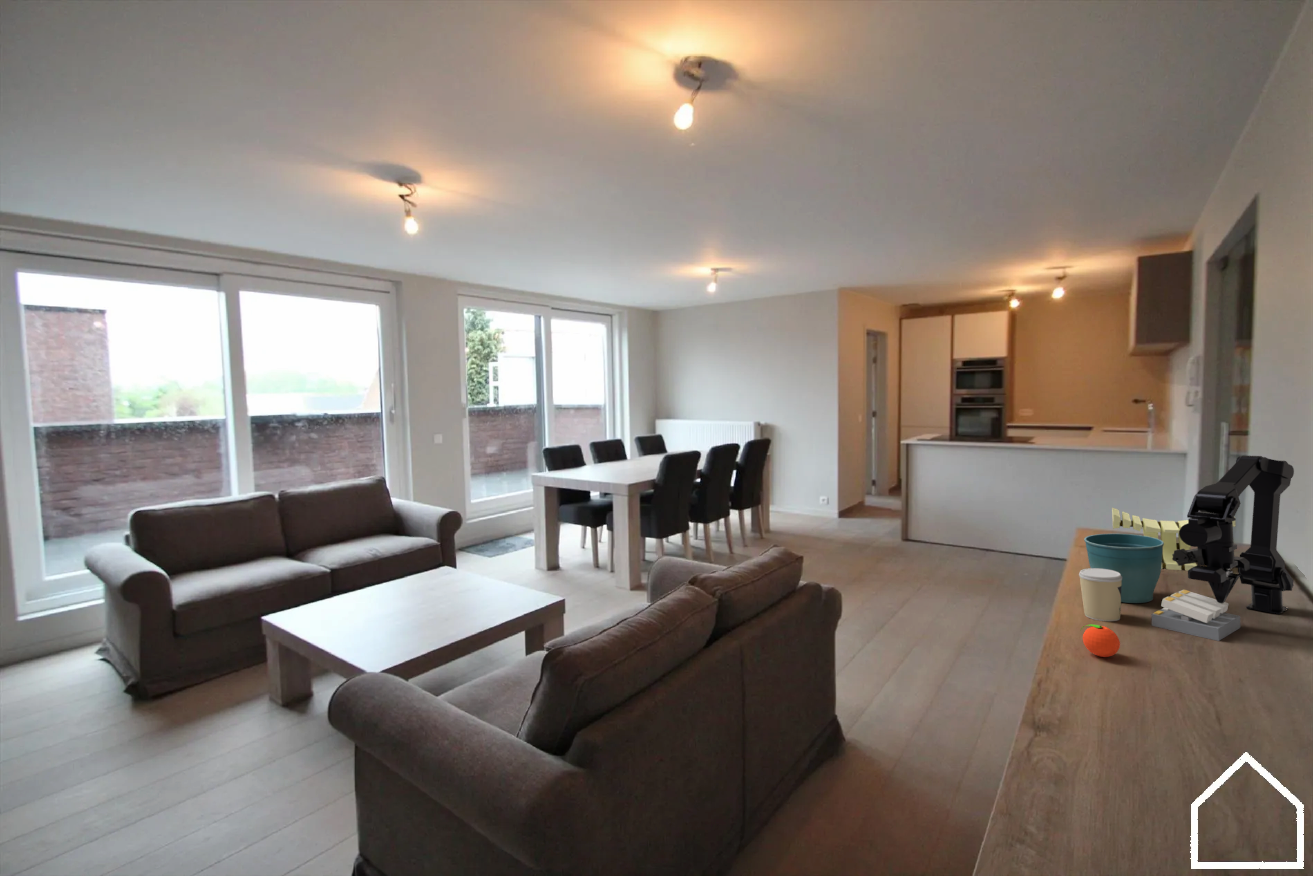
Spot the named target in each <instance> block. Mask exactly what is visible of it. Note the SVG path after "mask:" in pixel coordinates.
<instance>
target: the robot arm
mask: <svg viewBox="0 0 1313 876" xmlns="http://www.w3.org/2000/svg"><path fill="white" fill-rule="evenodd" d="M1294 474H1295V469H1294V466H1293V465H1291V464H1289V463H1288V461H1286V460H1278V459H1277V460H1276V459H1271V458H1268V457H1265V456H1262V455H1241V456H1240V455H1239V456H1238V457H1237V458H1236V460H1235V463H1234V464H1233V465H1232V466H1231V468H1230V469H1229V470H1228V471H1227V472H1226V473H1225V474H1224V475H1223V476H1222V477H1221V478H1220V479H1219V480H1218V481H1217V482H1216V483H1213V484H1209V485H1205V486H1204V487H1203V488H1201V489H1200V490H1198V491H1197V493H1196V494H1195V495H1194V496H1193V499H1192V501H1191V504H1190V507H1189V509H1188V512H1187V515H1186V516H1187V517H1186V518H1188V519H1187V520H1188V524H1185V525H1183V526H1182V527H1181V529H1180V531H1179V536H1180V538H1181V540H1182V541H1183V542H1184V543H1185V544H1187V545H1189V546H1191V548H1190V550H1185V549H1181V550H1178V549H1177V550H1175V551H1174V554H1172V555H1173V558H1172V560H1173V561H1176V562H1177V564H1178V566H1182V565H1184V564H1190V563H1196V564H1197V566H1195V567H1193V568H1191V569H1189V570H1188V571H1187V578H1188V579H1189V580H1195V581H1202V582H1207V583H1208V585H1209V586H1210V588H1211V590H1212V593H1213V595H1214V597H1215V598H1214V599H1216V600H1217V602H1218V603H1224V602H1226V600H1227V598H1228V596H1229V595H1230V593H1231V591H1232V590H1233V588H1234V586H1235V584H1236V583H1237V582H1238V579H1240V580H1239V581H1240V584H1242V585H1249V586H1250V590H1251V591H1250V592H1251V593H1250V594H1251V603H1249V604H1248V605H1246V606H1245V607H1246V609H1249V610H1254V611H1259V612H1265V613H1270V614H1275V613H1276V615H1281V614H1280V613H1282V612H1283V611H1285V610H1286V609H1288V610H1289V607H1288V608H1286V607H1287V606H1284V604H1283V592H1289V591H1293V587H1294V579H1293V578H1292V576H1291V575H1290V573H1289V572H1288V571H1287V569H1286V568H1285V567H1286V566H1285V565H1286V563H1285V562H1286V561H1285V560H1284V558H1283V557H1282V555H1281V554H1280V553H1279V551H1278V550H1277V549H1278V548H1277V545H1278V532H1279V518H1280V517H1279V516H1280V505H1281V495H1282V494H1283V493H1284V492H1285V491H1286V490H1287V489H1288V488H1289V487H1290V485H1291V481H1292V478H1293V477H1294ZM1248 487H1249V488H1250V489H1251V490H1252V491H1253V492H1254V493H1253V507H1252V518H1251V519H1252V520H1251V521H1252V523H1251V533H1250V534H1251V535H1250V546H1249V548H1247V549H1246V550H1245V551H1243V552H1241V553H1240V554H1239V556H1235V550H1237V549H1238V544H1235V543H1234V542H1235V541H1234V527H1233V523H1232V521H1235V522H1236V517H1235V516H1236V514H1237V511H1238V510H1239V509H1240V506H1241V503H1242V502H1241V499H1240V496H1241V494H1242V493H1243V492H1244V491H1245V490H1246V489H1247V488H1248ZM1193 547H1194V548H1193ZM1234 568H1236V569H1237V572H1238V573H1233V570H1232V569H1234ZM1286 611H1287V610H1286ZM1286 611H1285V612H1286ZM1283 613H1284V612H1283ZM1283 613H1282V614H1283Z"/></svg>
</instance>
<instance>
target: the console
mask: <svg viewBox="0 0 1313 876" xmlns="http://www.w3.org/2000/svg"><path fill="white" fill-rule="evenodd" d="M1150 616H1151V626H1152V627H1154V628H1155V627H1156V628H1160V629H1165V630H1170V631H1174V632H1177V633H1183V634H1187V635H1191V636H1195V637H1199V638H1204V639H1209V640H1212V641H1217V642H1220V641H1221V640H1223V639H1224V638H1226V637H1228V636H1230V635H1231V634H1233V633H1235V632H1236V631H1237V630H1239V629H1241V616H1240V615H1238V614H1233V613H1229V612H1224V613H1220V615H1219V616H1218V617H1216V618H1212V620H1211V621H1209V622H1207V623H1205V622H1202V621H1200V620H1197V619H1194V618H1192V617H1189V616H1186V615H1184V614H1181V613H1178V612H1175V611H1173V610H1170V609H1167V608H1165V607H1163V608H1161V609H1158V610H1157V611H1154V612H1153V613H1151V615H1150Z"/></svg>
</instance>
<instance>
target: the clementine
mask: <svg viewBox="0 0 1313 876" xmlns="http://www.w3.org/2000/svg"><path fill="white" fill-rule="evenodd" d="M1087 626H1089V627H1088V628H1086V629H1085V631H1084V633H1083V634H1082V642H1083V645H1084V646H1085V648H1086V649H1087V650H1088V651H1089V652H1090V653H1091V654H1093V655H1095V656H1098V657H1101V658H1102V657H1103V658H1109V657H1112V656H1114V655H1116V654H1117V653H1118V651H1119V649H1120V648H1121V641H1120V638H1119V637H1118V635H1117V634H1116V633H1115V632H1114V630H1112V629H1110V628H1109V627H1108V626H1104V625H1098V624H1094V623H1093V624H1086V625H1084V626H1082V627H1081V629H1080V631H1082V630H1083V628H1084V627H1087Z"/></svg>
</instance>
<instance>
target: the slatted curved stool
mask: <svg viewBox="0 0 1313 876" xmlns="http://www.w3.org/2000/svg"><path fill="white" fill-rule="evenodd" d="M1111 515H1112V518H1111V519H1112V520H1111V521H1112V529H1113V530H1115V529H1120V527H1122V528H1123V529H1131V528H1132V529H1133V530H1135V531H1138V532H1141V530H1142V534H1143V536H1148V537H1153V538H1157V539H1159V536H1160V540H1161V541H1163V542H1164V545H1163V554H1162V566H1161V570H1162V569H1165V570H1172V571H1182V570H1184V571H1187V572H1188V570H1189V569H1191V568H1193V567H1195V566H1197V565H1198V564H1197V562H1196V563H1190V564H1184V565H1182V566H1178V564H1177V562H1176V561H1173V560H1172V558H1173V555H1172V554H1174V551H1175V550H1181V549H1185V550H1190V549H1192V546H1189V545H1187V544H1185V543H1184V542H1183V541H1182V540H1181V538H1180V536H1179V531H1180V529H1181V527H1182V526H1183V525H1185V524H1188V519H1185V520H1177V521H1175V520H1159V521H1158V520H1157V519H1151V518H1145V517H1142V520H1141V518H1140V516H1138V515H1134V514H1132V515H1131V516H1130V513H1128V512H1126V511H1121V514H1120V510H1119V509H1118V508H1115V507H1111ZM1121 517H1122V518H1121ZM1131 517H1132V519H1131ZM1232 523H1233V528H1234V527H1236V526H1237V525H1236V523H1237V522H1236V520H1235V521H1232ZM1159 533H1160V535H1159ZM1177 536H1178V542H1177Z"/></svg>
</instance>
